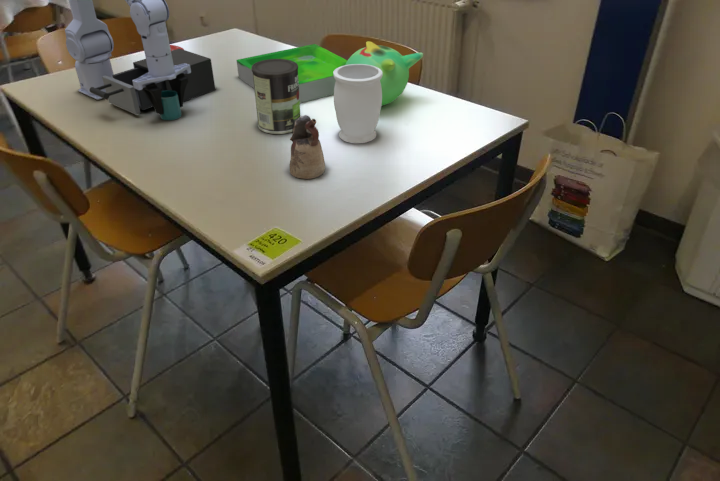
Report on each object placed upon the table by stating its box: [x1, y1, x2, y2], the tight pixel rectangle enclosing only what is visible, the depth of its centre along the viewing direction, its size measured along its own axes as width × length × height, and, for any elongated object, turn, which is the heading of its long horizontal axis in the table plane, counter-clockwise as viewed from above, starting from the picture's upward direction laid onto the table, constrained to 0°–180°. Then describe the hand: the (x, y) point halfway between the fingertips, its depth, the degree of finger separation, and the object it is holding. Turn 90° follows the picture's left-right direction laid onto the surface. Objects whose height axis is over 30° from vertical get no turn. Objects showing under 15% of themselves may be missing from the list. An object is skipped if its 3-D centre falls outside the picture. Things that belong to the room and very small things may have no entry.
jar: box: [333, 64, 383, 144], centre depth 125 cm, size 11×10×15 cm
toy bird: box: [345, 40, 424, 107], centre depth 140 cm, size 18×17×15 cm
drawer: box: [90, 67, 166, 116], centre depth 139 cm, size 19×12×7 cm, turn 142°
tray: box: [236, 43, 348, 104], centre depth 154 cm, size 25×25×5 cm
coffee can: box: [251, 59, 302, 135], centre depth 130 cm, size 10×10×14 cm
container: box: [159, 90, 183, 121], centre depth 136 cm, size 5×5×6 cm
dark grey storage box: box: [132, 48, 216, 103], centre depth 147 cm, size 14×13×8 cm
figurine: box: [289, 114, 326, 180], centre depth 113 cm, size 7×7×12 cm
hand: (169, 109), depth 136 cm, fingers closed on container, 5 cm apart
